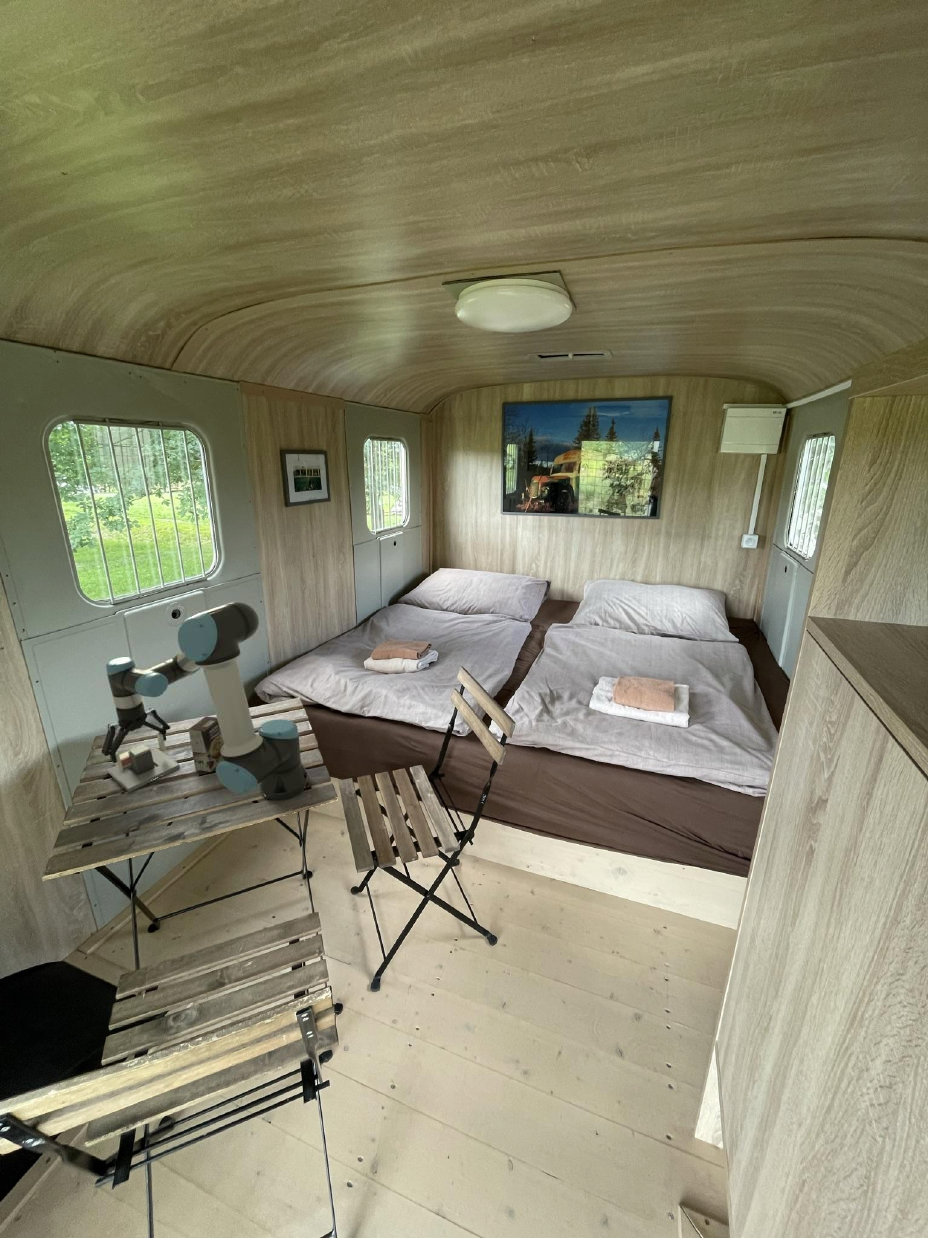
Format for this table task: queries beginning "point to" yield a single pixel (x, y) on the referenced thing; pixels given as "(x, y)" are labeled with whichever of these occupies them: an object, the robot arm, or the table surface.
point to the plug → (141, 759)
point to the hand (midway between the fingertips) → (142, 759)
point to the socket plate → (135, 781)
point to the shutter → (125, 759)
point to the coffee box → (206, 743)
